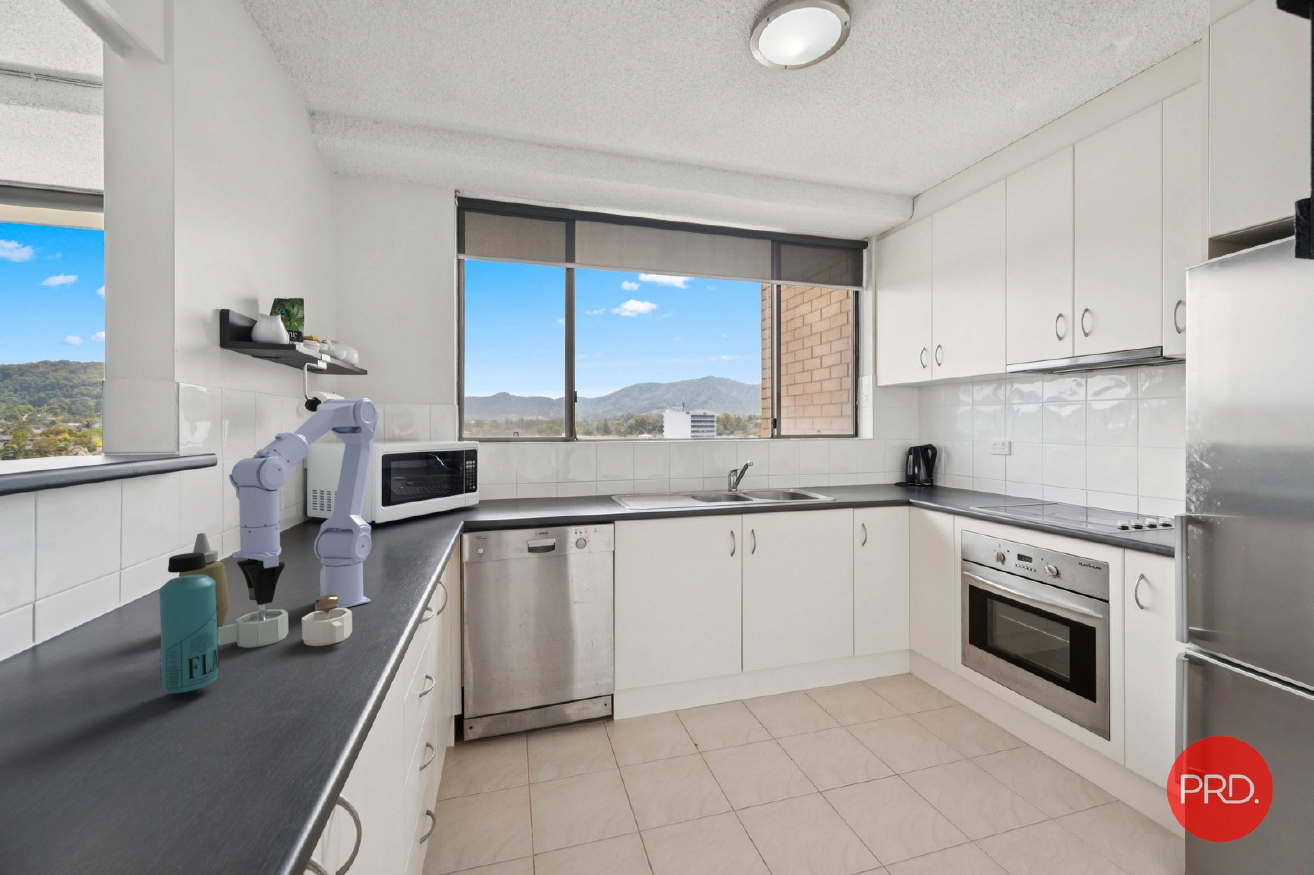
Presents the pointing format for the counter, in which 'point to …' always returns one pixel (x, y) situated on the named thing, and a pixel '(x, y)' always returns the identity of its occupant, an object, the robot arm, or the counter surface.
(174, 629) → the beverage bottle
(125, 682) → the counter surface
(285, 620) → the sage press pot
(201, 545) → the squeeze bottle
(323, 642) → the cream press pot
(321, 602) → the cream press plunger
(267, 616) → the sage press plunger
